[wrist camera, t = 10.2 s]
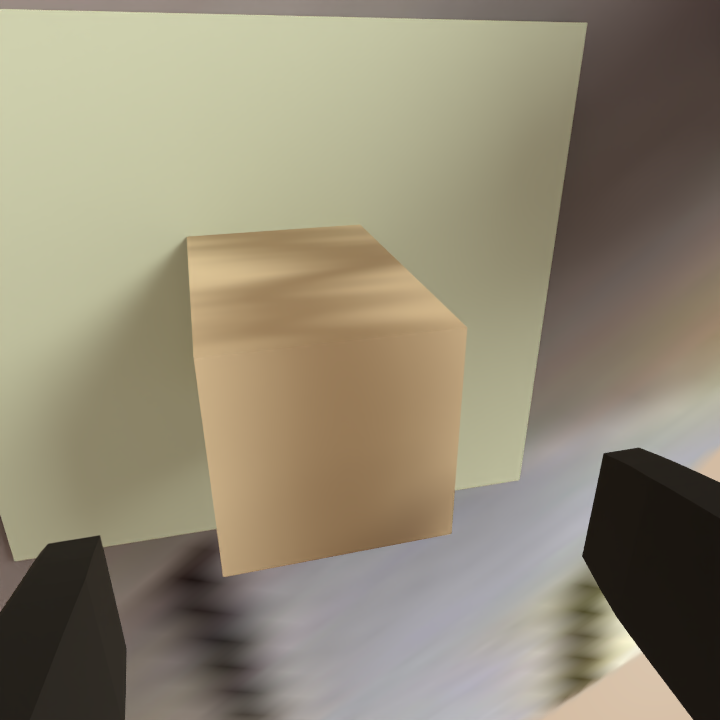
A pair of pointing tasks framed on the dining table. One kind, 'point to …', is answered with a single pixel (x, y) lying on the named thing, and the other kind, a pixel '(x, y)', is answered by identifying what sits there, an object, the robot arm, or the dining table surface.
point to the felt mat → (251, 225)
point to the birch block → (322, 395)
